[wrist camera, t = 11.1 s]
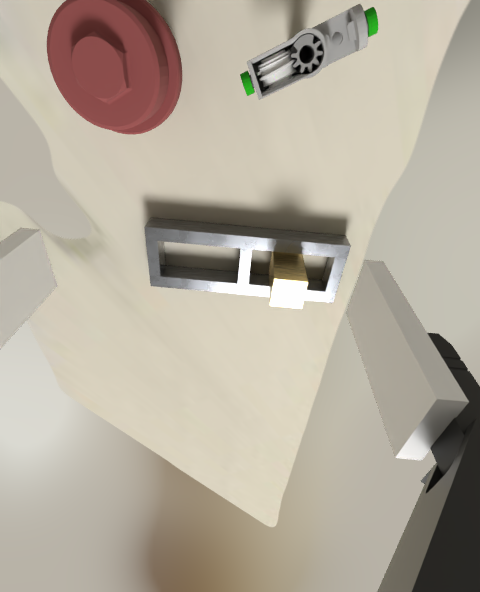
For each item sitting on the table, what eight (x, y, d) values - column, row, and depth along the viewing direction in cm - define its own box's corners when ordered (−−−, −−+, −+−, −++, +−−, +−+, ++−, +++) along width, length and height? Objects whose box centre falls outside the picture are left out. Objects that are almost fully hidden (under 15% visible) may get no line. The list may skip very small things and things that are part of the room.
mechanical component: (350, 48, 31) (381, 43, 23) (253, 95, 34) (250, 106, 26) (344, 10, 30) (374, -8, 22) (242, 63, 33) (235, 64, 25)
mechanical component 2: (213, 50, 32) (168, 140, 37) (119, -28, 29) (84, 81, 34) (192, 45, 22) (134, 169, 27) (45, -74, 19) (12, 90, 24)
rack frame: (151, 217, 43) (144, 226, 40) (345, 235, 43) (350, 246, 41) (156, 274, 48) (150, 285, 46) (329, 290, 48) (333, 302, 46)
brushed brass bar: (272, 247, 45) (274, 278, 38) (301, 250, 45) (308, 282, 38) (268, 271, 47) (269, 305, 41) (296, 274, 47) (301, 308, 41)
